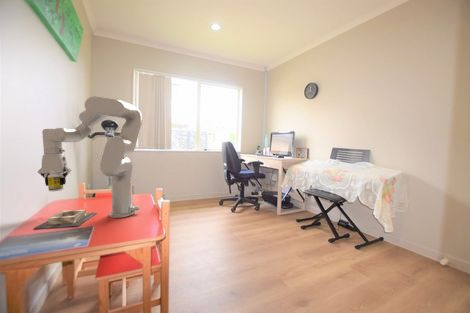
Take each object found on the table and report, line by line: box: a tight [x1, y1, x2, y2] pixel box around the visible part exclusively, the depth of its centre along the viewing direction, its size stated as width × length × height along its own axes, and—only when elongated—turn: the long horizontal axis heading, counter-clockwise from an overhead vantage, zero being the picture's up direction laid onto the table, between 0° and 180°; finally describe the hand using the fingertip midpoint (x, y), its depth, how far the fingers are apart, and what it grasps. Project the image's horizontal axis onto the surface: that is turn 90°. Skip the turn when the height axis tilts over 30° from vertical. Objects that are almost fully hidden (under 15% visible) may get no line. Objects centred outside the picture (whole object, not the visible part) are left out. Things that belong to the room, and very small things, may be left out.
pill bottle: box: [47, 171, 64, 192], centre depth 113 cm, size 6×6×11 cm
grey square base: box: [33, 209, 98, 230], centre depth 104 cm, size 18×18×4 cm
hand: (55, 184), depth 113 cm, fingers closed on pill bottle, 6 cm apart
